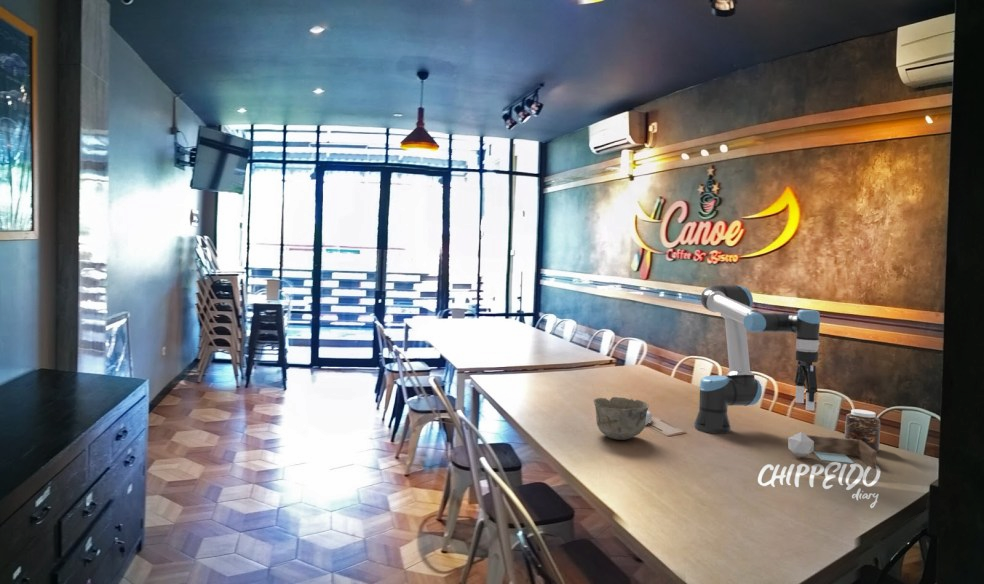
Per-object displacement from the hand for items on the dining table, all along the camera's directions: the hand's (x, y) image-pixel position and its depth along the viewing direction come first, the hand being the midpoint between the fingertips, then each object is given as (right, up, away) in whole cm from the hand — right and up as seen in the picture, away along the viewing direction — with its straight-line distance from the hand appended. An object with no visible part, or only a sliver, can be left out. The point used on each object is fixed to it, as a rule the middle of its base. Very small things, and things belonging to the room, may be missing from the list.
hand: (804, 406), depth 223 cm
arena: (+12, -20, 0) cm, 23 cm away
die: (-2, -20, -1) cm, 20 cm away
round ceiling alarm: (-56, -17, +47) cm, 75 cm away
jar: (+31, -20, +15) cm, 39 cm away
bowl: (-66, -17, +18) cm, 71 cm away
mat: (+11, -20, 0) cm, 22 cm away
